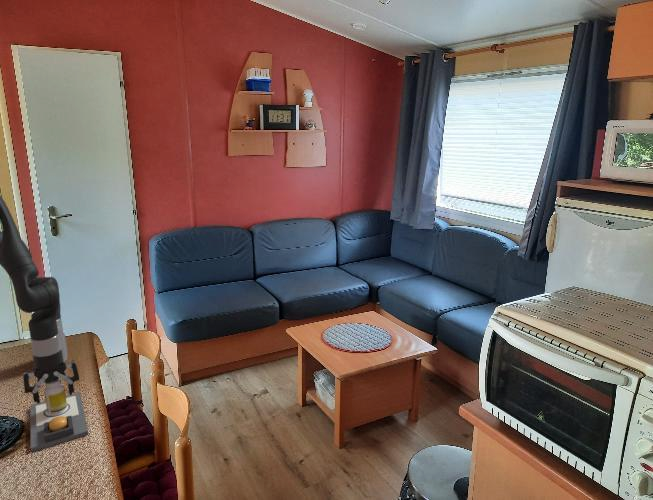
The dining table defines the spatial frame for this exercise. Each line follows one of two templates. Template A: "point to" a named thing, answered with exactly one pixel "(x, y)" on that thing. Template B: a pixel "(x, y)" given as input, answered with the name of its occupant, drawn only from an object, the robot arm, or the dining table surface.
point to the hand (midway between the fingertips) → (54, 398)
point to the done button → (58, 423)
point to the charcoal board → (46, 438)
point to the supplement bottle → (55, 397)
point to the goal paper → (44, 416)
